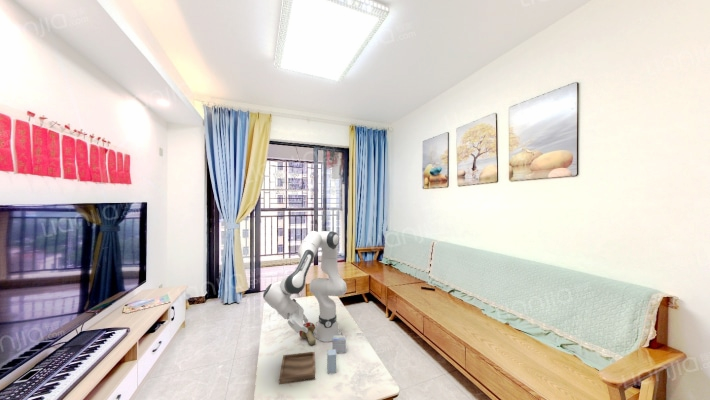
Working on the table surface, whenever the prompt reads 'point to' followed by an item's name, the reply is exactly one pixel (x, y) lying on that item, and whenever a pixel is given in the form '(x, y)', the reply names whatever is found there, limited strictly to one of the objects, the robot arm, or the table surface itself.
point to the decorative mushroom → (309, 332)
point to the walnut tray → (297, 368)
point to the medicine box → (339, 343)
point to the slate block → (331, 361)
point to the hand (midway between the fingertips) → (307, 326)
